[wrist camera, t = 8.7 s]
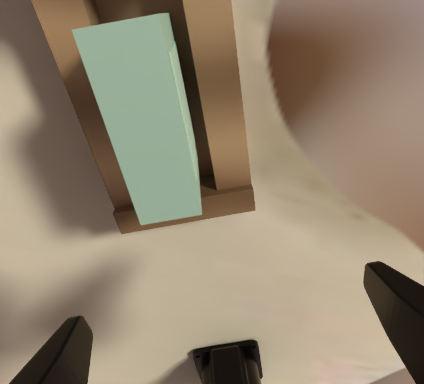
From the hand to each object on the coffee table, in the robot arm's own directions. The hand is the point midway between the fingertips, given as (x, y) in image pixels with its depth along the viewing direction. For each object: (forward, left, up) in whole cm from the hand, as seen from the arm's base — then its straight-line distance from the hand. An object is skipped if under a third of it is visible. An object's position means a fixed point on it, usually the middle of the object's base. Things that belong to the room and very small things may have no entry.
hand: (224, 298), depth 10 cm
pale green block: (+4, +2, -11) cm, 11 cm away
